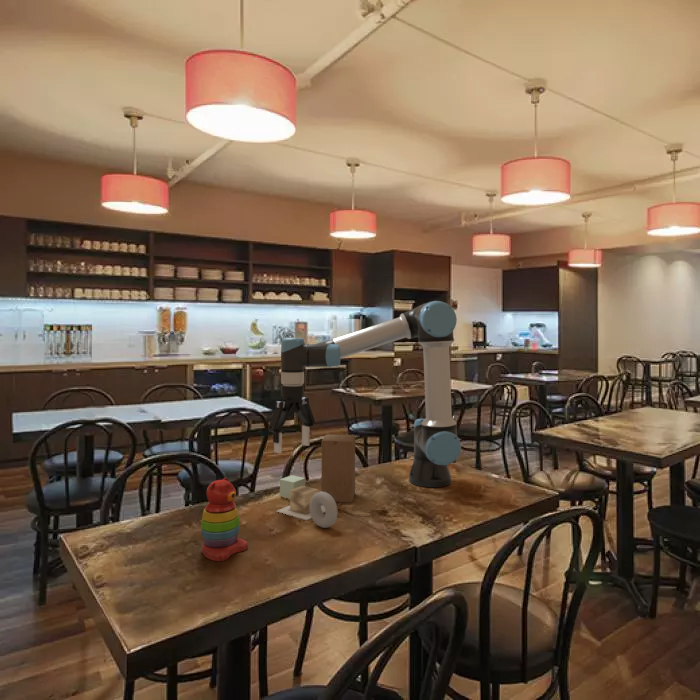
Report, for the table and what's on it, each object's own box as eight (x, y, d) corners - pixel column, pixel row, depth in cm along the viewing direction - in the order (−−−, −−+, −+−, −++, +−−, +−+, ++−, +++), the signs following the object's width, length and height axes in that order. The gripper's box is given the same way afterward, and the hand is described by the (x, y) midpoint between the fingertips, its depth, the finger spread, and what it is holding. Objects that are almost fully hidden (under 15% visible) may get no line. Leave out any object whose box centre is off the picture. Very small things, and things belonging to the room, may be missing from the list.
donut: (340, 530, 144) (340, 494, 144) (331, 533, 142) (331, 497, 141) (315, 520, 151) (315, 486, 151) (306, 524, 149) (306, 489, 148)
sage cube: (305, 495, 174) (305, 478, 174) (293, 500, 169) (293, 482, 169) (292, 492, 177) (292, 475, 177) (279, 497, 173) (279, 479, 172)
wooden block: (352, 503, 166) (352, 441, 166) (321, 502, 167) (321, 440, 167) (355, 493, 176) (355, 434, 176) (325, 492, 177) (325, 434, 177)
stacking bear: (220, 563, 124) (219, 489, 123) (190, 553, 129) (190, 482, 128) (251, 547, 133) (251, 478, 132) (223, 538, 138) (222, 472, 137)
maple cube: (317, 508, 160) (317, 489, 160) (305, 514, 155) (304, 494, 155) (303, 504, 164) (303, 485, 164) (290, 509, 159) (290, 490, 159)
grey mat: (332, 509, 161) (332, 507, 161) (306, 520, 151) (306, 519, 151) (302, 501, 168) (302, 500, 168) (276, 512, 158) (276, 510, 158)
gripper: (308, 381, 184) (308, 440, 185) (256, 387, 164) (256, 454, 164) (325, 382, 179) (324, 443, 180) (274, 389, 159) (274, 457, 160)
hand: (292, 448), depth 172 cm, fingers open, 13 cm apart
